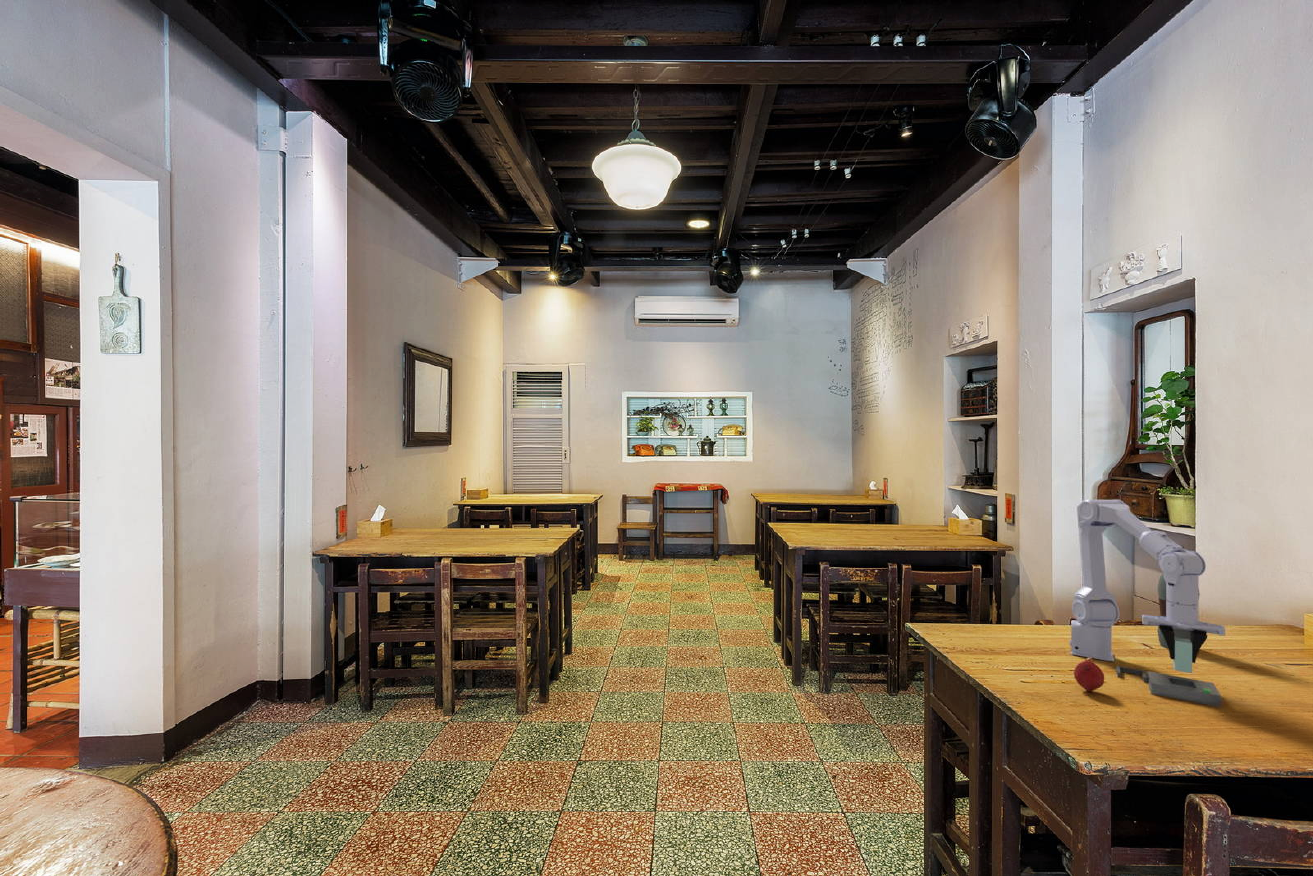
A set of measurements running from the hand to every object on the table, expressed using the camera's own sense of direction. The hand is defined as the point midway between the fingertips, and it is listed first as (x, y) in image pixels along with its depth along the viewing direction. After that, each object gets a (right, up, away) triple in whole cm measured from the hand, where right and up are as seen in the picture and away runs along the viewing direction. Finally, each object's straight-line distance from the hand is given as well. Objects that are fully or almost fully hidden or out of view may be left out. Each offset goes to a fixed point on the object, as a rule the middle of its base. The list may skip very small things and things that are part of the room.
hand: (1182, 660), depth 138 cm
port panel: (0, -8, 0) cm, 8 cm away
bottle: (+28, -9, +33) cm, 44 cm away
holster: (-4, -8, +10) cm, 14 cm away
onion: (-22, -8, +1) cm, 23 cm away
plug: (0, -2, 0) cm, 2 cm away
